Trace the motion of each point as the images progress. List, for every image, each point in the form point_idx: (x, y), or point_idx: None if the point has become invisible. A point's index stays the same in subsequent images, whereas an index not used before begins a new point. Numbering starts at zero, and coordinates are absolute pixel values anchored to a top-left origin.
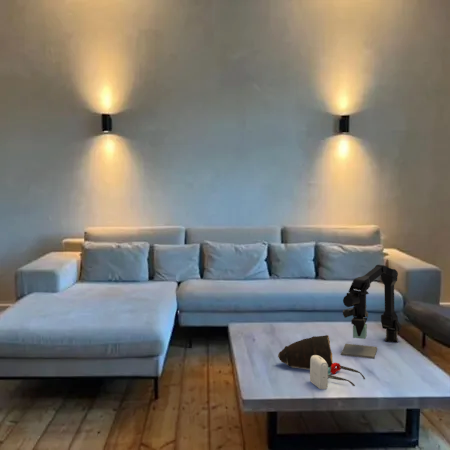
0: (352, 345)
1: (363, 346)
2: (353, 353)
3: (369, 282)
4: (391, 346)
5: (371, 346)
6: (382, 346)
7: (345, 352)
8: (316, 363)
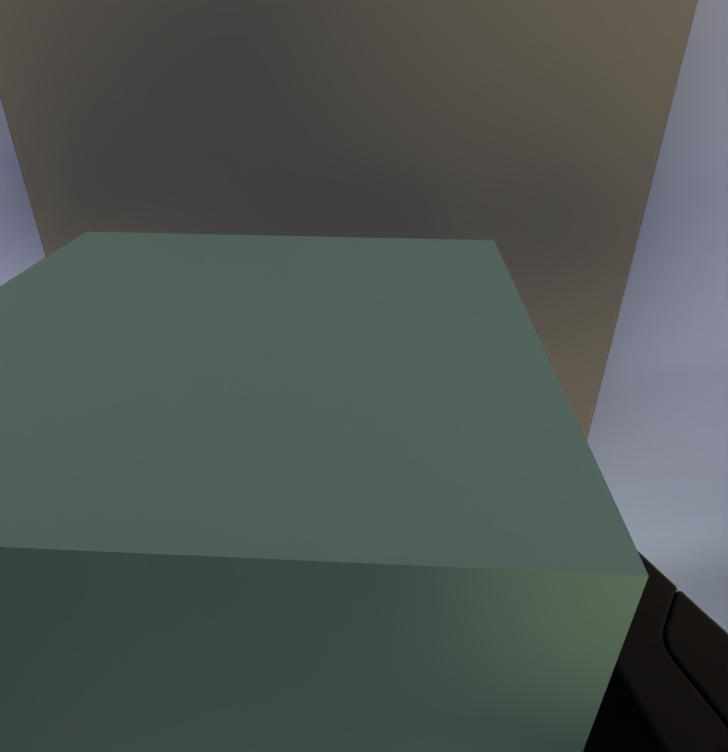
0: (589, 96)
1: (559, 314)
2: (79, 181)
3: None
4: (700, 606)
5: (582, 427)
6: (692, 526)
7: (40, 2)
8: None
